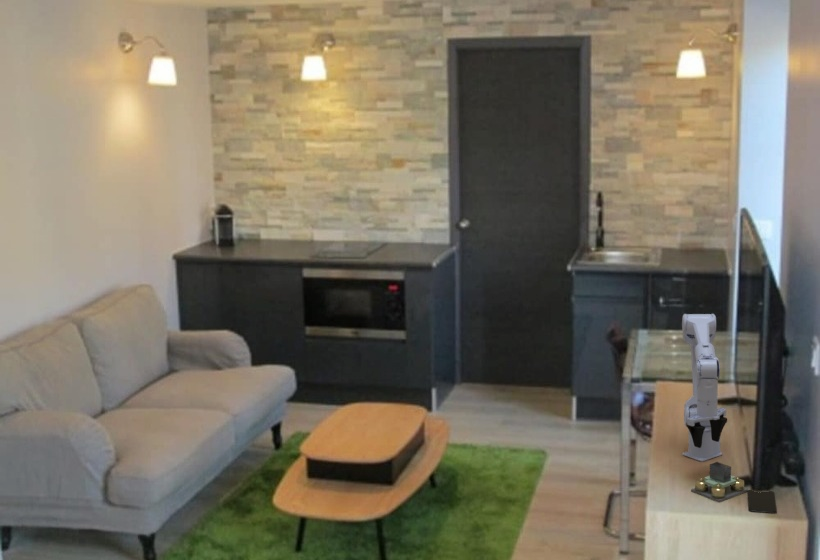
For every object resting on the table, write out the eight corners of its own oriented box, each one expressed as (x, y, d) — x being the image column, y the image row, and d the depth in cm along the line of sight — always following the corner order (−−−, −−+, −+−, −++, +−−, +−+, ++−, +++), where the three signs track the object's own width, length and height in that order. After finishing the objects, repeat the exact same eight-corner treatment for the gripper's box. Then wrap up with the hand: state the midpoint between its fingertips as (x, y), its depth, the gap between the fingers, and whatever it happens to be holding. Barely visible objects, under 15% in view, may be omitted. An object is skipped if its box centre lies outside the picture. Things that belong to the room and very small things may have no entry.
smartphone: (747, 491, 310) (748, 513, 295) (747, 489, 309) (748, 510, 295) (774, 493, 308) (777, 515, 293) (774, 490, 307) (777, 512, 293)
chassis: (719, 480, 317) (720, 467, 316) (747, 491, 309) (748, 478, 308) (691, 491, 310) (691, 478, 310) (718, 502, 302) (719, 488, 301)
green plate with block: (721, 474, 314) (721, 458, 313) (740, 481, 308) (741, 465, 307) (699, 481, 309) (699, 465, 308) (719, 489, 304) (719, 473, 303)
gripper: (700, 408, 310) (700, 453, 313) (734, 397, 318) (734, 441, 321) (681, 402, 316) (681, 446, 319) (715, 391, 324) (715, 435, 327)
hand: (706, 443), depth 320 cm, fingers open, 7 cm apart
